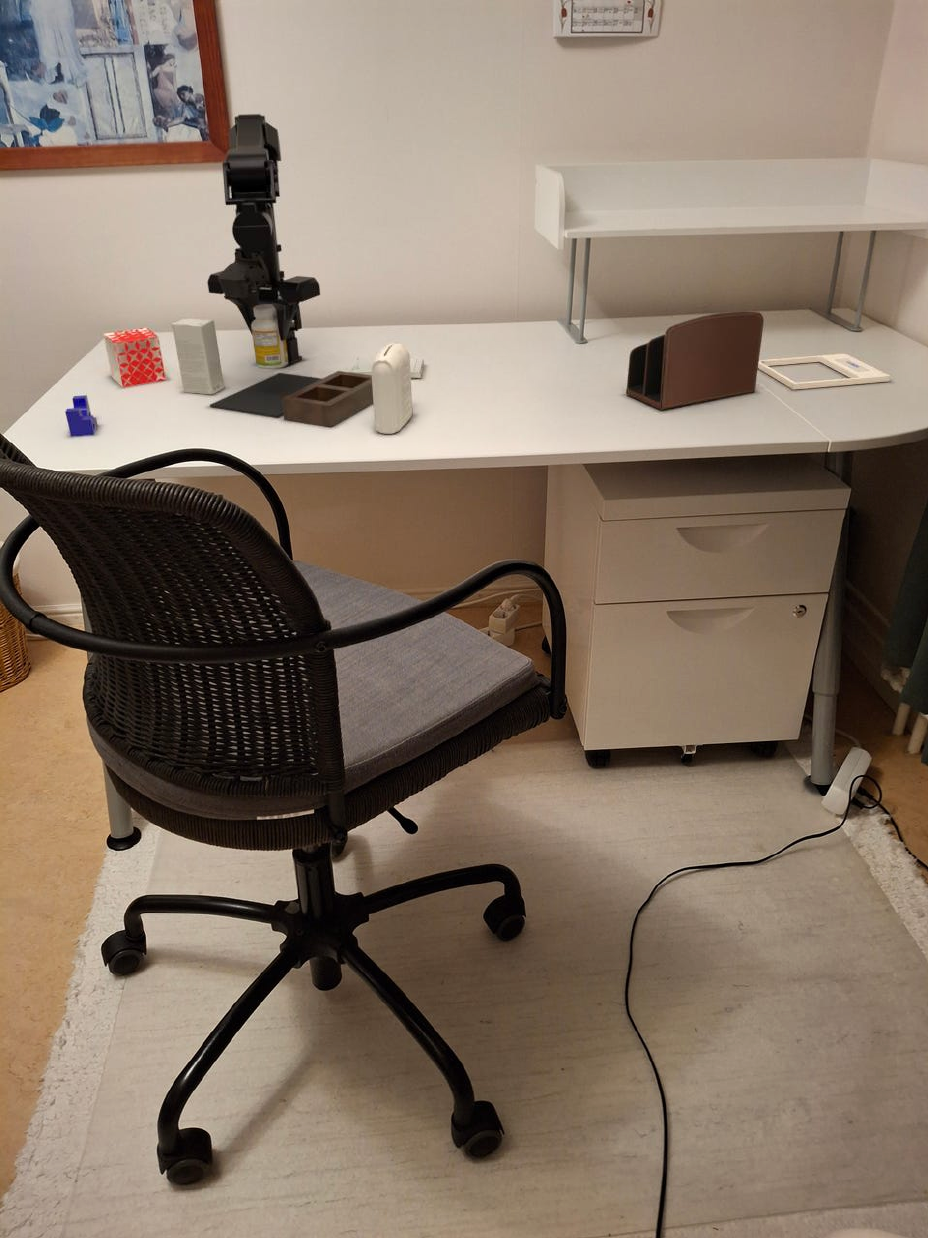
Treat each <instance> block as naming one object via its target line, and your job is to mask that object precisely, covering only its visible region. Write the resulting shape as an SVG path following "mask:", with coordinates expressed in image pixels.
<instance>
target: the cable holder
mask: <svg viewBox="0 0 928 1238" xmlns="http://www.w3.org/2000/svg"><path fill="white" fill-rule="evenodd" d="M71 400H72V404H73V405H72V406H73V407H72V408H67V409H65V412H64V413H65V417H66V421H67V425H68V429H69V434H70V437H81V436H82V437H83V436H95V434H96V432H97V429H98V427H99V424H98V420H97V417H94V415H92V413H91V407H90V404H89V399H88V396H87V394H85V395H74V396H73V397H72V398H71Z"/></svg>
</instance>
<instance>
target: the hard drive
mask: <svg viewBox="0 0 928 1238" xmlns="http://www.w3.org/2000/svg"><path fill="white" fill-rule="evenodd" d="M374 359H375V358H357V359H356V361H355V363H354V365H353V368H352V370H351V373H358V374H366V375H372V364H373V361H374ZM424 367H425V360H424V358H410V371H411V379H421V378H422V374H423V372H424Z"/></svg>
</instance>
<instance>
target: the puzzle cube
mask: <svg viewBox="0 0 928 1238" xmlns="http://www.w3.org/2000/svg"><path fill="white" fill-rule="evenodd" d="M102 334H103V340H104V345H105V349H106V353H107V355H106V356H107V359H108V363H109V369H110V374H111V377H112V378H113V379H114V381H115V382H117V384H119V385H120V386H121V388H128V387H129V388H130V387H134V386H140V385H145V384H152V383H159V382H163V381H166V380H167V377H166V371H165V366H164V360H163V355H162V349H161V343H160V338H159V337H160V336H158V335H157V334H156V333H155V332H153V331H152V330H150V329H149V328H148V327H141V328H134V329H127V330H121V331H113V332H107V333H102Z"/></svg>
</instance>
